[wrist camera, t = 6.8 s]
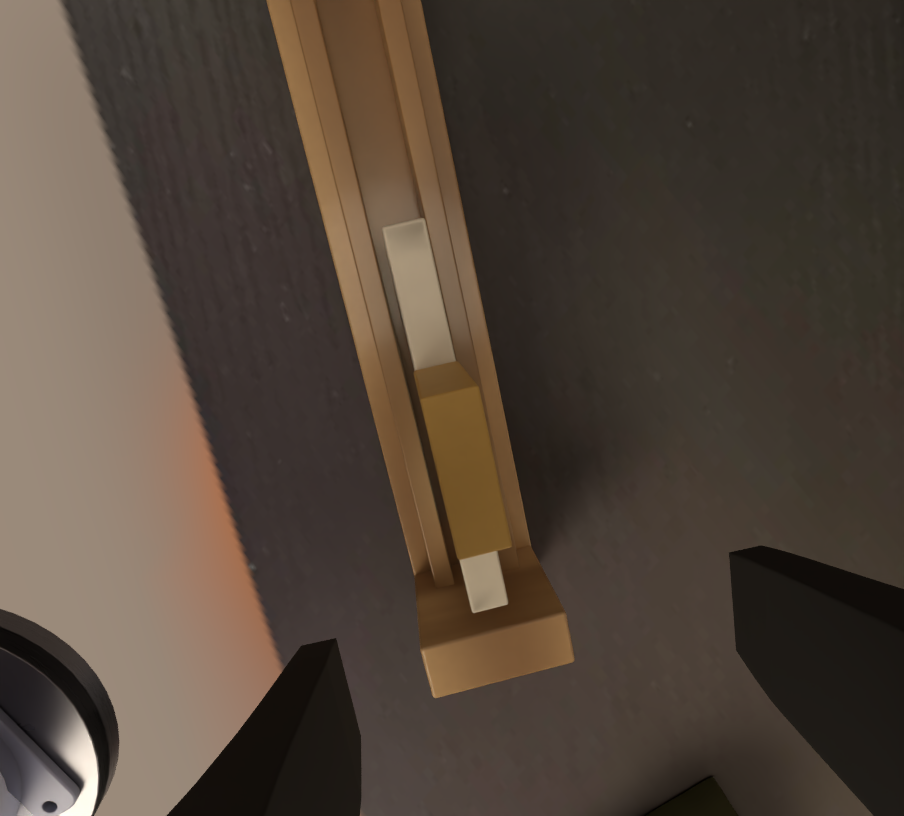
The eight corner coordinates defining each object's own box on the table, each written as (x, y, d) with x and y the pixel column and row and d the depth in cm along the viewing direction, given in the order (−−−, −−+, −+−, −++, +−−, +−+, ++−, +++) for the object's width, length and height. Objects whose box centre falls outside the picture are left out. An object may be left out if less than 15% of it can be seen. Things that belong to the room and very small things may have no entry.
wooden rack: (422, 601, 21) (433, 700, 16) (237, -125, 16) (167, -308, 11) (532, 573, 21) (576, 662, 16) (384, -153, 16) (382, -344, 11)
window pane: (449, 527, 19) (491, 704, 11) (382, 242, 17) (374, 209, 9) (480, 520, 19) (543, 690, 11) (416, 234, 17) (438, 196, 9)
